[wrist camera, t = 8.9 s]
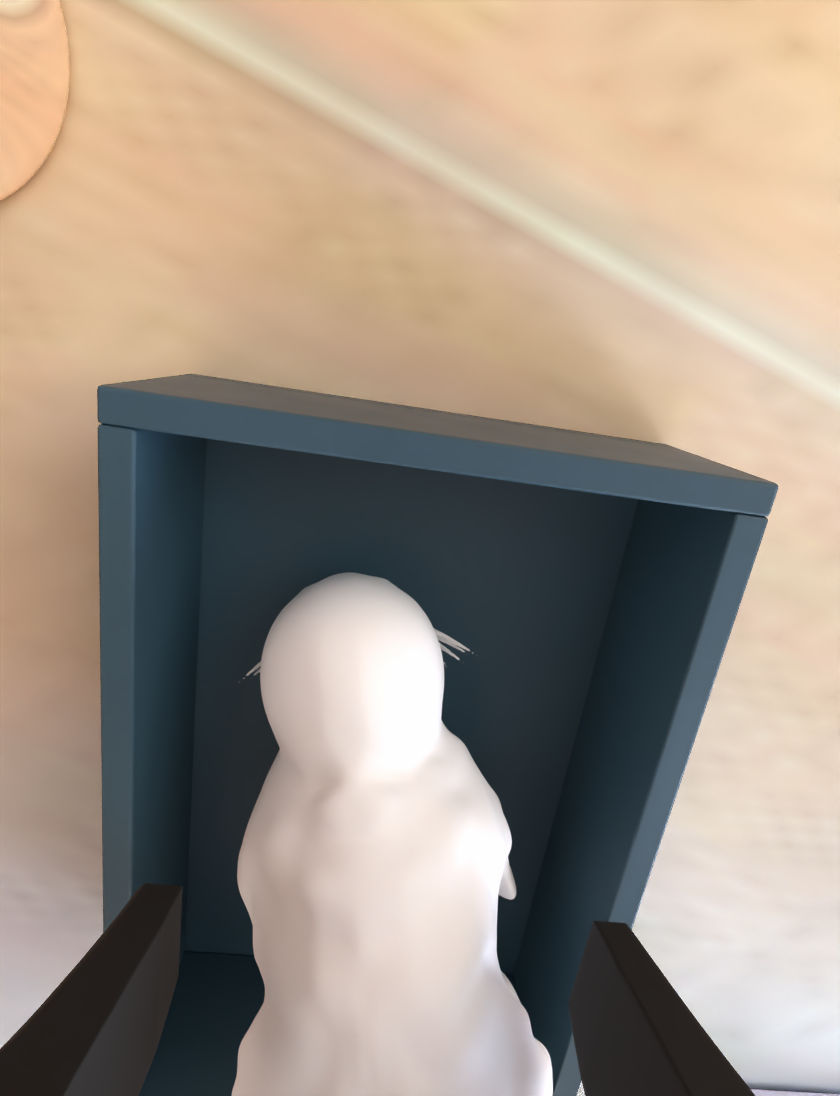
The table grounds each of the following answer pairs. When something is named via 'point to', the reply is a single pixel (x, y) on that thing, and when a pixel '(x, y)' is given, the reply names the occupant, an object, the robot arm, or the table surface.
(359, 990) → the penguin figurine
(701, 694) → the bin
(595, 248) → the table surface
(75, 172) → the table surface
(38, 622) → the table surface
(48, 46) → the beige tall cylinder
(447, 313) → the table surface
